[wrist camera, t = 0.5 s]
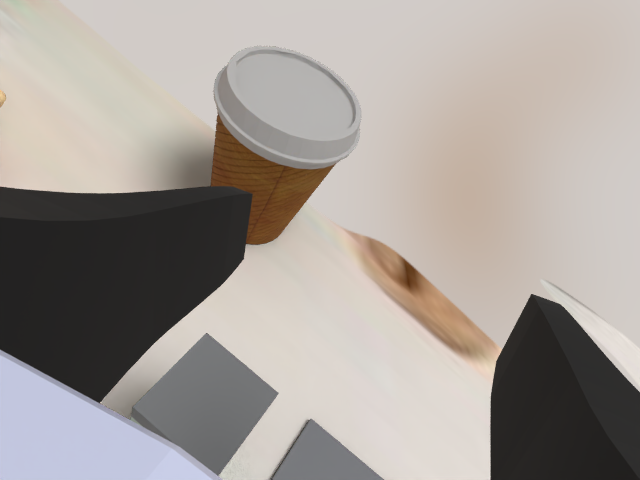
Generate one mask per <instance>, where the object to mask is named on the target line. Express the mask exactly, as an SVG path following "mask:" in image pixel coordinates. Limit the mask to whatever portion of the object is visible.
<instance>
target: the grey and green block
mask: <svg viewBox="0 0 640 480" xmlns="http://www.w3.org/2000/svg"><path fill="white" fill-rule="evenodd" d="M278 394H279V393H278V392H277V391H275V390H274V389H273V388H272V387H271V386H269V385H268V384H267V383H266V382H265V381H263V380H262V379H261V378H260V377H259V376H258V375H256V374H255V373H254V372H253V371H252V370H250V369H249V368H248V367H247V366H246V365H244V364H243V363H242V362H241V361H240V360H239V359H237V358H236V357H235V356H234V355H233V354H231V353H230V352H229V351H228V350H227V349H225V348H224V347H223V346H222V345H221V344H219V343H218V342H217V341H216V340H215V339H214V338H212V337H211V336H210V335H209V334H208V333H206V334H205V335H204V336H203V337H202V338H201V339H200V340H199V341H198V342H197V343H196V344H195V345H194V346H193V347H192V348H191V349H190V350H189V351H188V352H187V353H186V354H185V355H184V356H183V357H182V358H181V359H180V360H179V361H178V362H177V363H176V364H175V365H174V366H173V367H172V368H171V369H170V370H169V371H168V372H167V373H166V374H165V375H164V376H163V377H162V378H161V379H160V380H159V381H158V382H157V383H156V384H155V385H154V386H153V387H152V388H151V389H150V390H149V391H148V392H147V393H146V394H145V395H144V396H143V397H142V398H141V399H140V400H139V401H138V402H137V403H136V404H135V405H134V406H133V408H132V413H131V418H130V420H131V421H133V422H135V423H137V424H138V425H140V426H142V427H144V428H146V429H148V430H150V431H151V432H153V433H155V434H157V435H159V436H161V437H162V438H164V439H166V440H168V441H170V442H172V443H174V444H175V445H177V446H179V447H181V448H182V449H183V450H185V451H186V452H187V453H188V454H190V455H191V456H192V457H194V458H195V459H196V460H198V461H199V462H200V463H202V464H203V465H204V466H206V467H207V468H208V469H209V470H211V471H212V472H213V473H215V474H216V475H217V476H219V474H220V473H221V472H222V470H223V469H224V467H225V466H226V465H227V463H228V462H229V461H230V459H231V458H232V457H233V455H234V454H235V452H236V451H237V450H238V448H239V447H240V446H241V444H242V443H243V442H244V440H245V439H246V437H247V436H248V435H249V433H250V432H251V431H252V429H253V428H254V427H255V425H256V424H257V422H258V421H259V420H260V418H261V417H262V416H263V414H264V413H265V411H266V410H267V409H268V407H269V406H270V405H271V403H272V402H273V401H274V399H275V398H276V396H277V395H278Z"/></svg>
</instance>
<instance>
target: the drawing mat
mask: <svg viewBox="0 0 640 480" xmlns="http://www.w3.org/2000/svg"><path fill="white" fill-rule="evenodd" d="M271 480H384V479H382V478H381V477H380V476H379V475H378V474H377V473H375V472H374V471H373V470H372V469H371V468H369V467H368V466H367V465H366V464H365V463H363V462H362V461H361V460H360V459H359V458H358V457H356V456H355V455H354V454H353V453H352V452H350V451H349V450H348V449H347V448H346V447H344V446H343V445H342V444H341V443H340V442H338V441H337V440H336V439H335V438H334V437H333V436H331V435H330V434H329V433H328V432H327V431H325V430H324V429H323V428H322V427H321V426H319V425H318V424H317V423H316V422H315V421H314V420H312V419H310V420H309V421H308V423H307V424H306V426H305V427H304V429H303V431H302V432H301V434H300V435H299V437H298V438H297V440H296V442H295V443H294V445H293V446H292V448H291V449H290V451H289V452H288V454H287V456H286V457H285V459H284V460H283V462H282V463H281V465H280V467H279V468H278V470H277V471H276V473H275V474H274V476H273V477H272V479H271Z"/></svg>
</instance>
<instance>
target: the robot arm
mask: <svg viewBox="0 0 640 480" xmlns="http://www.w3.org/2000/svg"><path fill="white" fill-rule="evenodd" d="M252 197H253V194H252V193H249V192H247V191H244V190H241V189H238V188H235V187H231V186H210V187H197V188H186V189H175V190H164V191H149V192H133V193H105V194H98V193H64V192H50V191H37V190H24V189H15V188H7V187H0V480H223V479H221V478H220V477H219V476H217V475H216V474H215V473H213V472H212V471H211V470H209V469H208V468H207V467H206V466H204V465H203V464H202V463H200V462H199V461H198V460H196V459H195V458H194V457H192V456H191V455H190V454H188V453H187V452H186V451H185V450H183V449H182V448H181V447H179V446H177V445H175V444H174V443H172V442H170V441H168V440H166V439H164V438H162V437H161V436H159V435H157V434H155V433H153V432H151V431H150V430H148V429H146V428H144V427H142V426H140V425H138V424H137V423H135V422H133V421H131V420H129V419H127V418H125V417H124V416H122V415H120V414H118V413H116V412H114V411H113V410H111V409H109V408H107V407H105V406H103V405H101V404H100V402H101V401H102V400H103V398H104V397H105V396H106V395H107V394H108V393H109V392H110V391H111V389H112V388H113V387H114V386H115V385H116V384H117V383H118V381H119V380H120V379H121V378H122V377H123V376H124V375H125V374H126V372H127V371H128V370H129V369H130V368H131V367H132V366H133V365H134V364H135V363H136V362H137V361H138V360H139V359H140V358H141V357H142V355H143V354H144V353H145V352H146V351H147V350H148V349H149V348H150V347H151V346H152V345H153V344H154V343H155V342H156V341H157V340H158V339H159V338H160V337H162V336H163V335H164V334H165V333H166V332H167V331H168V330H169V329H171V328H172V327H173V326H174V325H175V324H177V323H178V322H179V321H180V320H181V319H182V318H184V317H185V316H186V315H187V314H188V313H189V312H191V311H192V310H193V309H194V308H195V307H197V306H198V305H199V304H200V303H201V302H203V301H204V300H205V299H206V298H207V297H208V296H209V295H211V294H212V293H213V292H214V291H215V290H216V289H217V288H219V287H220V286H221V285H222V284H223V283H224V282H225V281H226V280H227V278H228V277H229V276H230V275H231V274H232V273H233V272H234V270H235V269H236V268H237V267H238V265H239V264H240V263H241V262H242V261H243V259H244V253H245V246H246V239H247V232H248V225H249V218H250V211H251V204H252ZM491 480H640V392H639V391H638V390H637V389H636V388H635V387H634V386H633V385H632V384H631V383H630V382H629V381H628V380H627V379H626V378H625V377H624V375H623V374H622V373H621V372H620V371H619V370H618V369H617V368H616V367H615V366H614V364H613V363H612V362H611V361H610V360H609V359H608V358H607V357H606V355H605V354H604V353H603V352H602V351H601V350H600V348H598V346H597V345H596V344H595V343H594V342H593V340H592V339H591V338H590V337H589V336H588V334H587V333H586V332H585V331H584V330H583V328H582V327H581V326H580V325H579V324H578V323H577V321H576V320H575V319H574V318H573V317H572V316H571V315H570V313H569V312H568V311H567V310H566V309H565V308H564V307H563V306H561V305H560V304H558V303H555V302H553V301H550V300H547V299H544V298H541V297H539V296H536V295H533V294H531V296H530V298H529V300H528V302H527V304H526V306H525V307H524V309H523V311H522V313H521V315H520V317H519V319H518V321H517V323H516V325H515V327H514V329H513V330H512V332H511V334H510V336H509V338H508V340H507V342H506V344H505V346H504V348H503V350H502V351H501V353H500V355H499V357H498V359H497V361H496V367H495V373H494V379H493V385H492V392H491Z"/></svg>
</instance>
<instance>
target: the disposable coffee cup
mask: <svg viewBox="0 0 640 480" xmlns="http://www.w3.org/2000/svg"><path fill="white" fill-rule="evenodd" d="M214 100H215V103H216V106H217V110H218V116H217V122H218V123H217V125H216V130H217V131H216V135H215V137H216V138H215V146H214V156H213V166H212V177H211V186H231V187H235V188H238V189H241V190H244V191H247V192H249V193H252V194H253V197H252V204H251V211H250V218H249V225H248V232H247V239H246V243H247V244H264V243H267V242H270V241H272V240H274V239H276V238H277V237H278V236H279V235H280V234H281V233H282V231H283V230H284V229H285V227H286V226H287V225H288V224H289V222H290V221H291V220H292V219H293V217H294V216H295V215H296V213H297V212H298V211H299V210H300V208H301V207H302V206H303V205H304V203H305V202H306V201H307V200H308V198H309V197H310V196H311V194H312V193H313V192H314V191H315V189H316V188H317V187H318V186H319V184H320V183H321V182H322V180H323V179H324V178H325V177H326V176H327V174H328V173H329V172H330V170H331V169H332V168H333V167H334V165H335V164H336V163H337V162H339V161H340V160H342V159H344V158H346V157H347V156H348V155H349V154H350V153H351V152H352V151H353V150H354V149H355V147H356V146H357V143H358V141H359V137H360V128H359V126H360V122H361V108H360V105H359V102H358V100H357V98H356V96H355V94H354V93H353V91H352V90H351V89H350V87H349V86H348V85H347V84H346V83H345V82H344V81H343V80H342V78H340V77H339V76H338V75H337V74H336V73H335V72H333V71H332V70H330V69H329V68H328V67H326V66H325V65H323V64H321V63H320V62H318V61H316V60H314V59H312V58H311V57H308V56H306V55H303V54H301V53H298V52H295V51H293V50H288V49H283V48H279V47H275V46H255V47H250V48H245V49H243V50H241V51H239V52H237V53H236V54H235V55H234V56H233V57H232V58H231V60H230V61H229V63H228V65H227V66H225V67H224V68H223V69H222V70H221V71H220V72H219V73H218V75H217V77H216V79H215V83H214Z"/></svg>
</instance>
